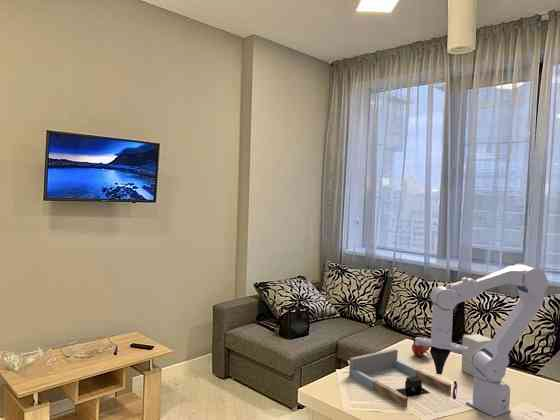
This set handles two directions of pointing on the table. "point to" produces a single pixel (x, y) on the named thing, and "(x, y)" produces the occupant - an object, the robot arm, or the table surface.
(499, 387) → the robot arm
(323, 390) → the table surface
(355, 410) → the table surface
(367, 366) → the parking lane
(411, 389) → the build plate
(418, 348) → the pomegranate
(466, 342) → the supplement box
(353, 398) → the table surface
